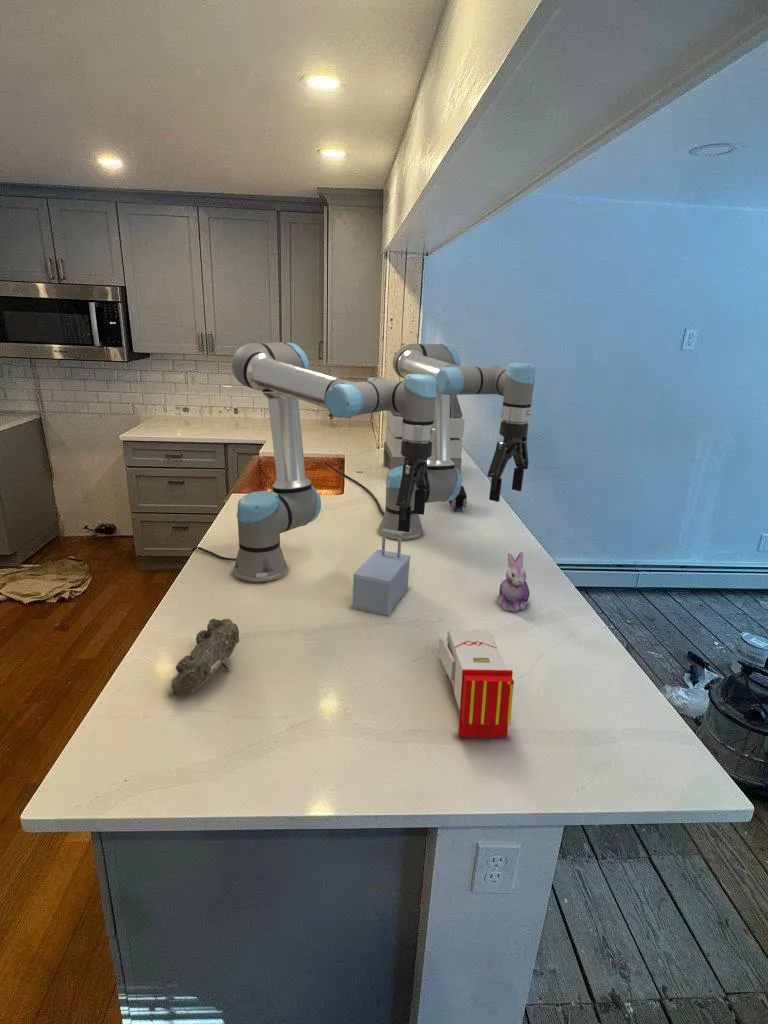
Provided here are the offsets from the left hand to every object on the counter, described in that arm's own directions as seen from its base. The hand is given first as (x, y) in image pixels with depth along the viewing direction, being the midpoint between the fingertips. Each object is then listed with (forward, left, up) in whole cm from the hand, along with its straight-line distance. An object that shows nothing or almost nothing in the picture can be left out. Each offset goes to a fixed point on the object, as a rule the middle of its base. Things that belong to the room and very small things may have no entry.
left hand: (411, 522), depth 144 cm
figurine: (+27, +12, -24) cm, 38 cm away
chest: (-8, +1, -24) cm, 25 cm away
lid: (-8, +1, -15) cm, 17 cm away
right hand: (+19, +28, +2) cm, 34 cm away
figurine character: (-6, +84, -24) cm, 88 cm away
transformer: (-34, +126, -24) cm, 133 cm away
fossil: (-30, -44, -24) cm, 58 cm away
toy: (+24, -30, -24) cm, 45 cm away
